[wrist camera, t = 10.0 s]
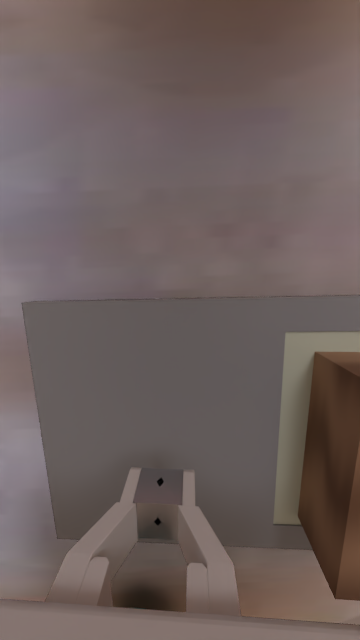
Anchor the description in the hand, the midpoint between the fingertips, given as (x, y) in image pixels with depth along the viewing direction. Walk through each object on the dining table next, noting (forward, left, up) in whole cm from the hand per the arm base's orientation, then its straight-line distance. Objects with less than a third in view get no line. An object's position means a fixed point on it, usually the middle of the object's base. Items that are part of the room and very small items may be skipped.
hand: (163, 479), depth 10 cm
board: (+1, +5, -5) cm, 8 cm away
